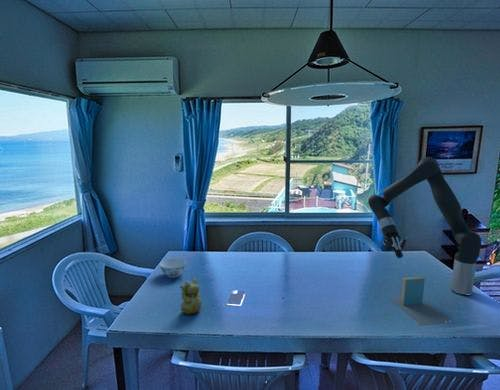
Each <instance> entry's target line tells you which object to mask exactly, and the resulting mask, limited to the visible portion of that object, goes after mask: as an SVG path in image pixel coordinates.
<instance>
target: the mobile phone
mask: <svg viewBox="0 0 500 390" xmlns="http://www.w3.org/2000/svg"><path fill="white" fill-rule="evenodd" d="M246 292H247V291H245V290H237V289H235V290H234V289H233V290H232V291H231V292H230V294H229V297H228V299H227V301H226V303H225V306H229V307H241V306H242V305H243V302H244V299H245V296H246Z"/></svg>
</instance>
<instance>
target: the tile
mask: <svg viewBox="0 0 500 390" xmlns="http://www.w3.org/2000/svg"><path fill="white" fill-rule="evenodd" d="M425 281H426V278H425V277H424V276H413V277H412V276H411V277H410V276H409V277H403V278H402V289H401V298H400V299H401V304H402V305H413V304H422V300H424V299H423V298H424V290H425V289H424V288H425Z"/></svg>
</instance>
